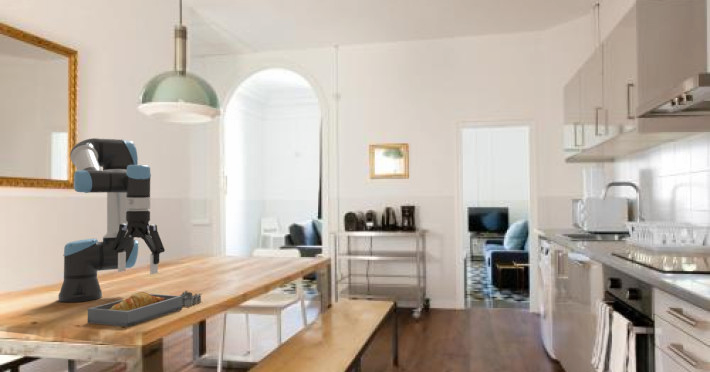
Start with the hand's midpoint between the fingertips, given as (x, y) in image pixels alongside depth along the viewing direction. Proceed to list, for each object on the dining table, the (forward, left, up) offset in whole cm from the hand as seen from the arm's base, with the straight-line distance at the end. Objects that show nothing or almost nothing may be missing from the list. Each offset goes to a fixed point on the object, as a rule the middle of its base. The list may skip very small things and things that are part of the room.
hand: (137, 272), depth 168 cm
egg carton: (+4, +22, -15) cm, 27 cm away
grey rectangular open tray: (0, 0, -14) cm, 14 cm away
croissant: (0, 0, -14) cm, 14 cm away
